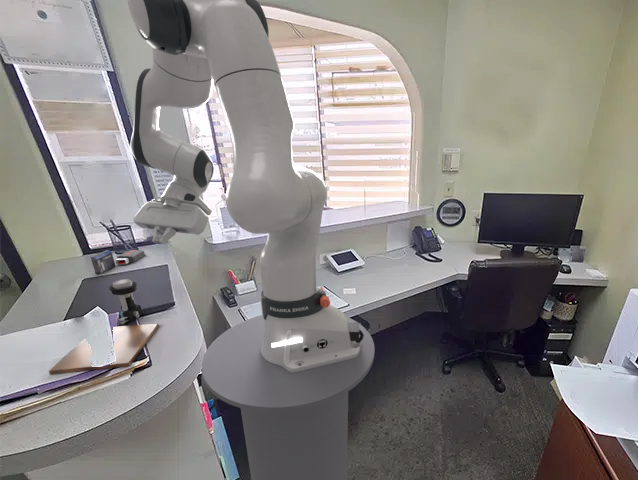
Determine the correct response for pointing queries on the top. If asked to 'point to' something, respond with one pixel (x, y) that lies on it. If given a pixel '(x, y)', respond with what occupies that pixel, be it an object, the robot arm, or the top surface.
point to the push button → (126, 299)
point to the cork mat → (125, 348)
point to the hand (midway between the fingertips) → (158, 243)
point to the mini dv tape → (103, 261)
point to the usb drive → (129, 256)
